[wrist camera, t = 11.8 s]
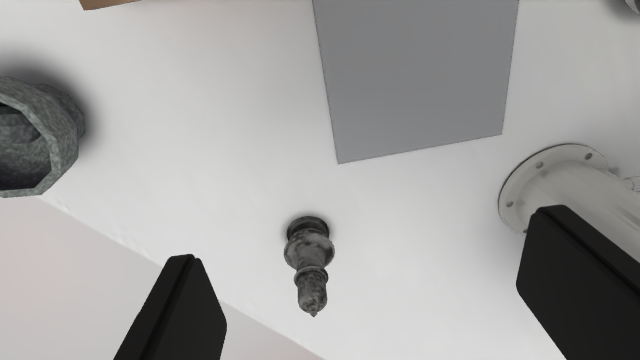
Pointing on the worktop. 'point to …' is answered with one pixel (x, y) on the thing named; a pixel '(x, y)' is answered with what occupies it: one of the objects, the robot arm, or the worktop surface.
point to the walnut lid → (102, 3)
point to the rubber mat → (414, 72)
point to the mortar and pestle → (35, 137)
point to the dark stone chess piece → (309, 261)
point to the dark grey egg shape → (634, 5)
